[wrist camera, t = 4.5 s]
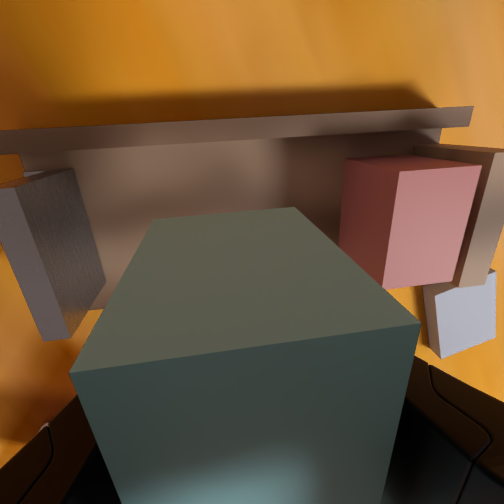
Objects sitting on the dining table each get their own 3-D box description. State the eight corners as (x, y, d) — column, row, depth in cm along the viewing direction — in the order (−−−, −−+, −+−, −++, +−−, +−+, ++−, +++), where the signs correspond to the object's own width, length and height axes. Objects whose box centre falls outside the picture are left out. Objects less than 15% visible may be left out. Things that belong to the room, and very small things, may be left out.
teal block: (292, 363, 11) (366, 563, 6) (184, 379, 10) (165, 611, 5) (294, 206, 8) (422, 322, 4) (153, 219, 8) (68, 373, 3)
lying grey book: (477, 324, 27) (495, 337, 25) (426, 344, 27) (441, 359, 25) (476, 261, 24) (496, 271, 22) (419, 284, 24) (434, 295, 22)
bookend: (106, 281, 19) (70, 338, 14) (66, 286, 18) (15, 345, 13) (73, 168, 16) (14, 187, 11) (25, 171, 15) (-58, 192, 11)
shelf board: (408, 267, 22) (475, 314, 17) (78, 306, 20) (28, 377, 14) (438, 108, 18) (542, 100, 12) (17, 130, 15) (-90, 133, 10)
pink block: (392, 243, 21) (451, 281, 16) (338, 249, 20) (381, 289, 15) (406, 154, 18) (481, 165, 13) (345, 158, 18) (399, 171, 13)
